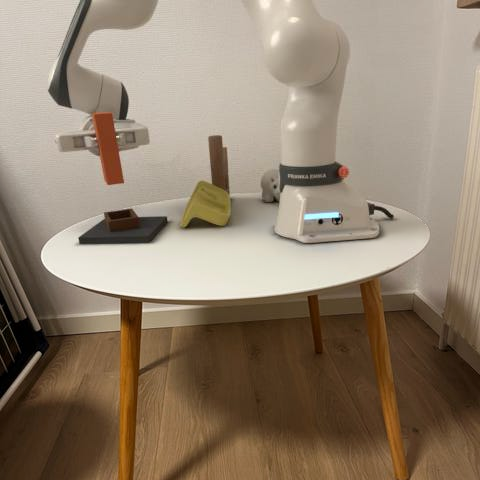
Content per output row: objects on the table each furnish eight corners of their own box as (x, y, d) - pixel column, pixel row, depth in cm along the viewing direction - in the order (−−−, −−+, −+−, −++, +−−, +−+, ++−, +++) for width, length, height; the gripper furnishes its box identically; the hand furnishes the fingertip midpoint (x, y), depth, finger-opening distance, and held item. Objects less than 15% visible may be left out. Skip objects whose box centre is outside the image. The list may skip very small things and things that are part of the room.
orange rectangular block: (104, 180, 98) (91, 113, 92) (120, 178, 100) (108, 111, 93) (107, 185, 94) (94, 114, 87) (124, 183, 95) (112, 112, 88)
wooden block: (230, 198, 126) (226, 132, 118) (226, 207, 117) (221, 136, 108) (217, 199, 127) (212, 132, 118) (212, 208, 117) (206, 137, 109)
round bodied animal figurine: (265, 209, 114) (264, 175, 109) (259, 198, 124) (258, 167, 120) (292, 207, 114) (292, 173, 110) (284, 196, 124) (284, 166, 120)
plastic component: (230, 217, 99) (189, 200, 97) (219, 244, 103) (179, 229, 101) (230, 192, 116) (195, 177, 114) (220, 216, 119) (186, 202, 117)
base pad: (167, 222, 107) (165, 206, 105) (149, 242, 93) (146, 224, 92) (106, 223, 109) (103, 207, 107) (79, 244, 95) (75, 226, 93)
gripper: (51, 125, 98) (51, 129, 87) (140, 118, 105) (151, 121, 93) (58, 154, 101) (59, 162, 90) (144, 146, 108) (156, 152, 96)
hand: (107, 141), depth 92 cm, fingers closed on orange rectangular block, 3 cm apart
